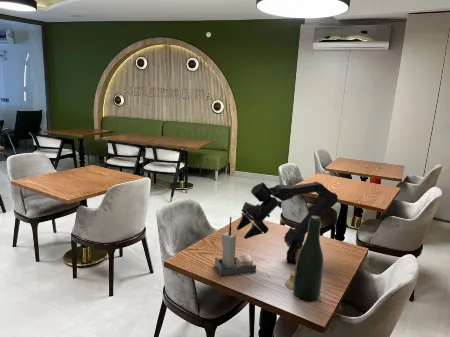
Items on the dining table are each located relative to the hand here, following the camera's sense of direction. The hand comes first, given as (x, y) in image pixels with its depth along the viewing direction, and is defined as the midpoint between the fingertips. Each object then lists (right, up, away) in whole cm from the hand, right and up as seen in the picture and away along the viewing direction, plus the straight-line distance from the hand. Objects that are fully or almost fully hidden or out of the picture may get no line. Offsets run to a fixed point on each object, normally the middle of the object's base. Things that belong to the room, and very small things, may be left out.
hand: (240, 233), depth 145 cm
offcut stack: (+2, -16, +5) cm, 17 cm away
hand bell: (+22, -20, -8) cm, 31 cm away
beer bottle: (+25, -21, -14) cm, 36 cm away
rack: (-2, -16, +3) cm, 17 cm away
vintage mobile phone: (-6, -16, +2) cm, 18 cm away
